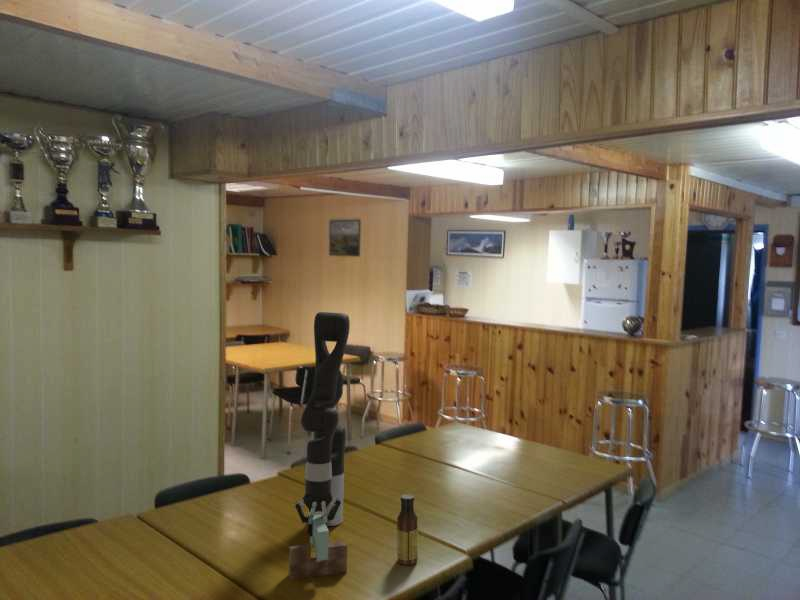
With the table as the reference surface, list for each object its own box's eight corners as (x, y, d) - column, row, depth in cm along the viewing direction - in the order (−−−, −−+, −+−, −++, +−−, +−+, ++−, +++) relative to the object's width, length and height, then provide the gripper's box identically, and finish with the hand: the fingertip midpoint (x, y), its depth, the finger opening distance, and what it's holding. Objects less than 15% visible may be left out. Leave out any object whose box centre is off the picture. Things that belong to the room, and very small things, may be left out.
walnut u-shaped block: (290, 579, 169) (291, 551, 168) (289, 574, 172) (289, 546, 171) (346, 572, 174) (347, 545, 173) (344, 567, 176) (345, 540, 176)
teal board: (310, 542, 178) (310, 515, 177) (320, 541, 179) (320, 514, 178) (317, 560, 166) (318, 532, 166) (328, 559, 167) (328, 531, 167)
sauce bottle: (417, 556, 185) (419, 492, 184) (418, 566, 179) (420, 500, 178) (395, 556, 185) (397, 492, 184) (396, 566, 179) (398, 499, 178)
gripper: (339, 470, 181) (337, 527, 182) (292, 473, 177) (290, 532, 177) (345, 478, 174) (343, 538, 174) (295, 482, 170) (294, 542, 170)
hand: (316, 534), depth 176 cm, fingers closed on teal board, 3 cm apart
